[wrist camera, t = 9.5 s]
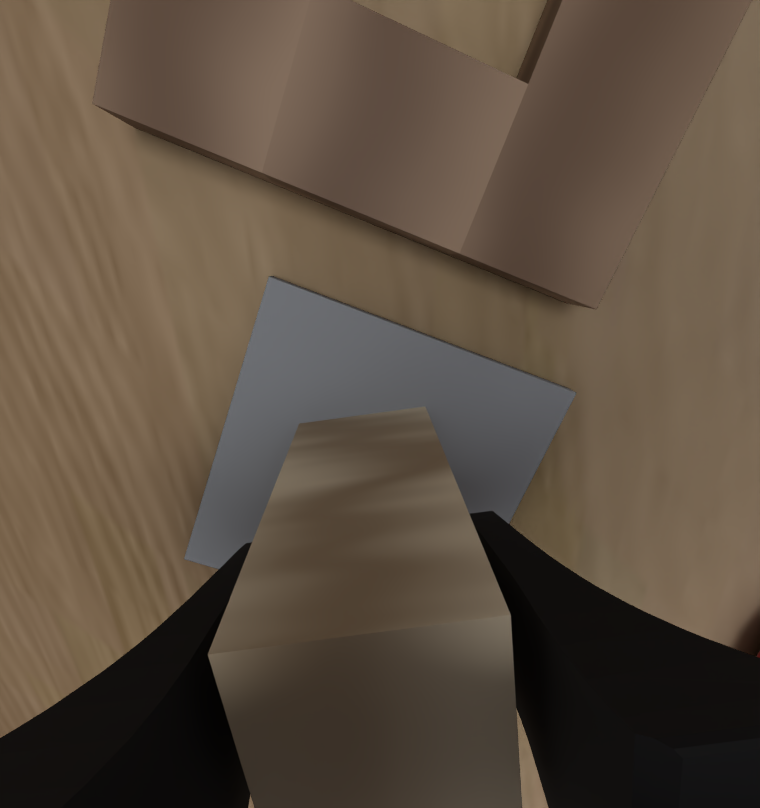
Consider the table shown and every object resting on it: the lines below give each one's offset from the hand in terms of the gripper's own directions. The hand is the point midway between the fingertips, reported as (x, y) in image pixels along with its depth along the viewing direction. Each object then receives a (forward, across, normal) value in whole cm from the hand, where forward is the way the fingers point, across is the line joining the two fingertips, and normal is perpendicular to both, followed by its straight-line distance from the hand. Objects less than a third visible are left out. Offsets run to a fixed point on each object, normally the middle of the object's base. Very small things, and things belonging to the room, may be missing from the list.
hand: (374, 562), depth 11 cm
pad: (+5, 0, 0) cm, 5 cm away
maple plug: (+4, 0, 0) cm, 4 cm away
